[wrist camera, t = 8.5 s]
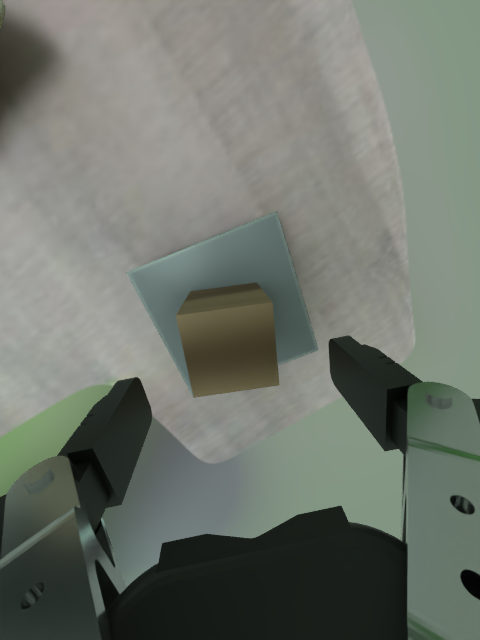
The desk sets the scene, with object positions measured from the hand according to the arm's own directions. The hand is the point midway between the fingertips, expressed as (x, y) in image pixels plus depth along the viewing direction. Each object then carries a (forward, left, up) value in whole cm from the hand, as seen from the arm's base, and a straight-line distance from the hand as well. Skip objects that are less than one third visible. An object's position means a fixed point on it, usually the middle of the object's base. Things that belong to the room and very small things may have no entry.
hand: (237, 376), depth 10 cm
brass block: (0, 0, -9) cm, 9 cm away
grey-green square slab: (0, 0, -14) cm, 14 cm away
